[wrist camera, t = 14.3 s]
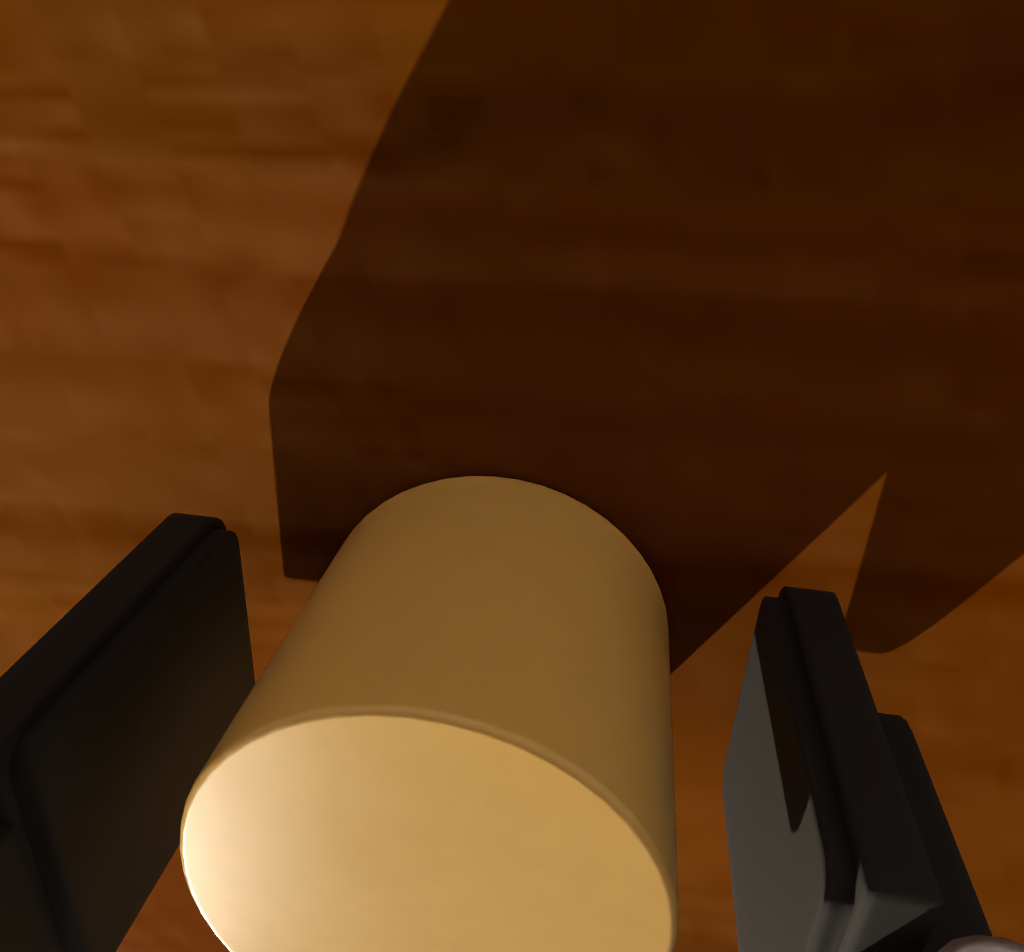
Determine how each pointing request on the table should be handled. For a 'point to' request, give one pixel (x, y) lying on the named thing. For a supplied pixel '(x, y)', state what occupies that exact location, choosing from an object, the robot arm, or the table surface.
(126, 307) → the table surface
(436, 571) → the cylinder
